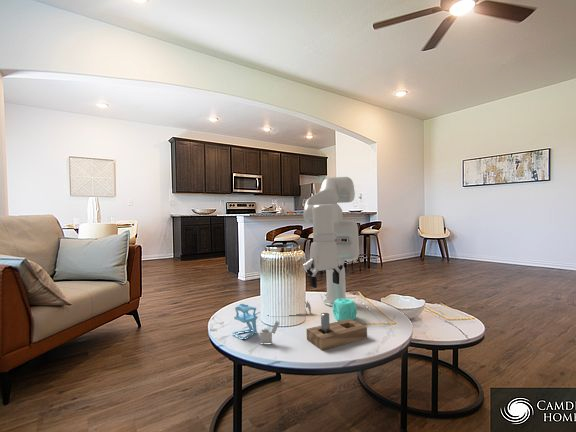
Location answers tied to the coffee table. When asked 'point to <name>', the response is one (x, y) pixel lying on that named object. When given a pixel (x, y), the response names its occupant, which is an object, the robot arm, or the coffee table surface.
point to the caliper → (308, 307)
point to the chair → (246, 319)
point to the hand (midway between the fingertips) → (325, 285)
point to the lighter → (268, 334)
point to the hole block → (337, 334)
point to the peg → (325, 323)
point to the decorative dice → (344, 309)
